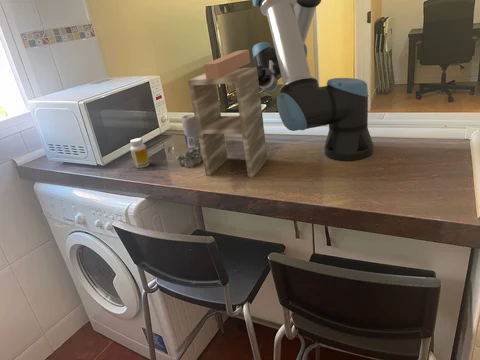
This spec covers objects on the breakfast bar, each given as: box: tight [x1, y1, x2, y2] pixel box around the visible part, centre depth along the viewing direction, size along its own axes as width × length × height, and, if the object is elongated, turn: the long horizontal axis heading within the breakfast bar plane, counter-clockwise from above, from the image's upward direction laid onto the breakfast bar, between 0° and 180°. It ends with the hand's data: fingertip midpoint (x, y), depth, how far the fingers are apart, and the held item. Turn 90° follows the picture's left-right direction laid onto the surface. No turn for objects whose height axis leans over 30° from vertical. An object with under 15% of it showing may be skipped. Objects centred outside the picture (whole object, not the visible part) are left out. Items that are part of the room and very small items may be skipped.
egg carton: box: [175, 147, 203, 169], centre depth 133 cm, size 11×8×4 cm
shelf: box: [187, 66, 268, 179], centre depth 117 cm, size 16×14×30 cm
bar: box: [203, 49, 251, 79], centre depth 114 cm, size 4×24×4 cm, turn 158°
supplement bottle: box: [129, 137, 151, 169], centre depth 135 cm, size 5×5×10 cm
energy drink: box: [181, 114, 200, 150], centre depth 146 cm, size 5×5×12 cm
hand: (250, 65), depth 129 cm, fingers open, 13 cm apart
